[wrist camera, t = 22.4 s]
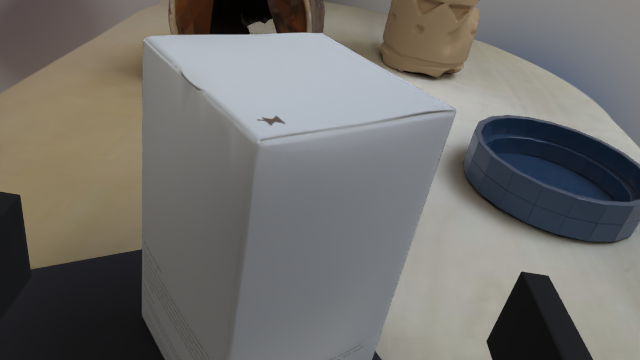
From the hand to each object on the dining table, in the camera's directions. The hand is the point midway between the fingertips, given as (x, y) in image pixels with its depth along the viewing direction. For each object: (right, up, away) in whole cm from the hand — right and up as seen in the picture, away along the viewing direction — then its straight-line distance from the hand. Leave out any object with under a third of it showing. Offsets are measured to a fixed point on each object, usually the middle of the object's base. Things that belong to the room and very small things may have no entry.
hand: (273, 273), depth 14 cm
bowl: (+23, +1, +36) cm, 43 cm away
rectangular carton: (-2, -6, +13) cm, 15 cm away
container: (+16, +19, +64) cm, 68 cm away
